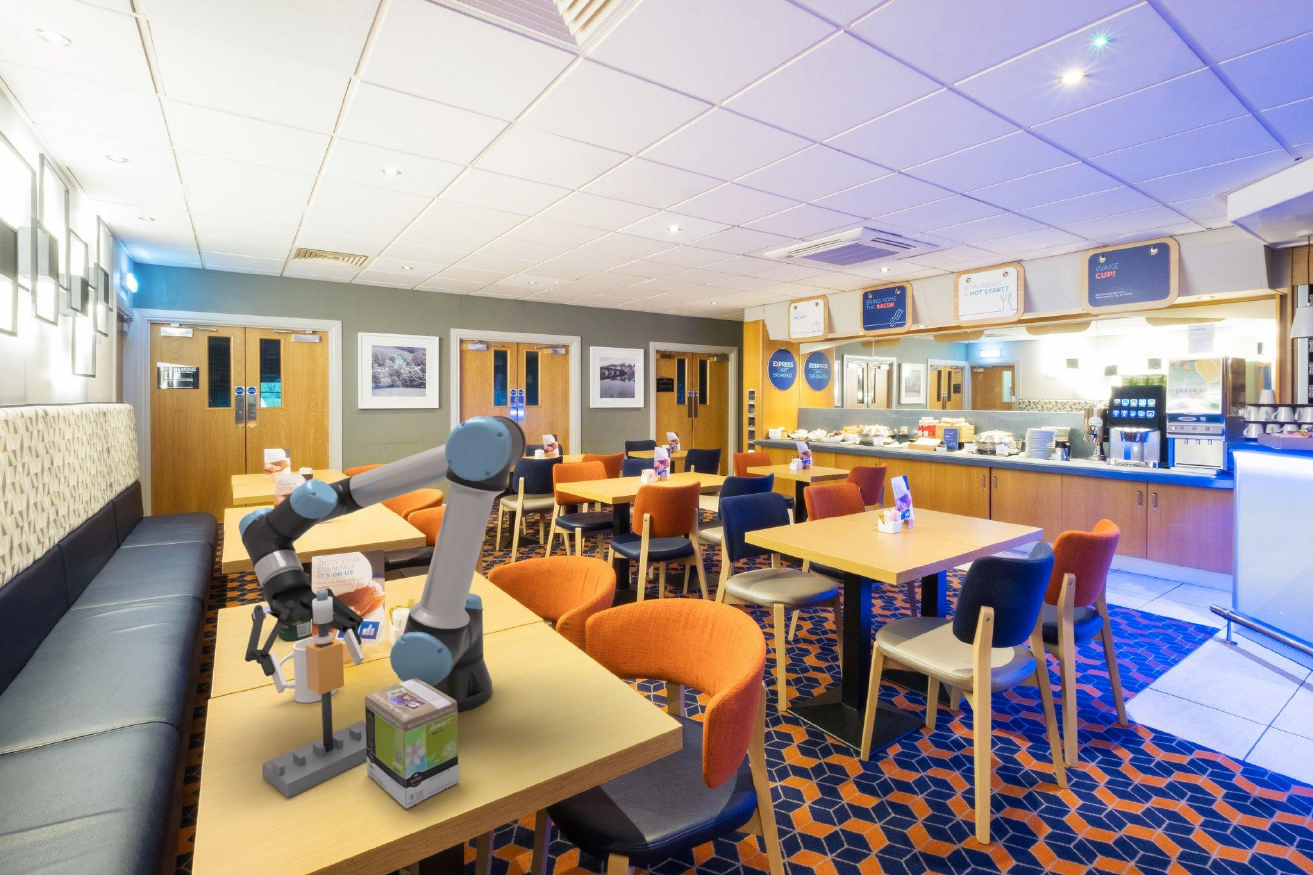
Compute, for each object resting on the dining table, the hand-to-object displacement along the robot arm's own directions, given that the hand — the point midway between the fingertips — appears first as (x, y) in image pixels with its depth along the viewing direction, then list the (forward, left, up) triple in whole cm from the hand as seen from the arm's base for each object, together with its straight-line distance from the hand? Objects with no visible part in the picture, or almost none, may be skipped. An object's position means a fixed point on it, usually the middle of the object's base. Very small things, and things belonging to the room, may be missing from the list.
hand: (323, 674), depth 111 cm
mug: (+17, -27, -17) cm, 36 cm away
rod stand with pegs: (0, 0, -17) cm, 17 cm away
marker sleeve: (0, 0, -2) cm, 2 cm away
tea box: (-17, +6, -17) cm, 25 cm away
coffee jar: (+39, -65, -17) cm, 78 cm away
